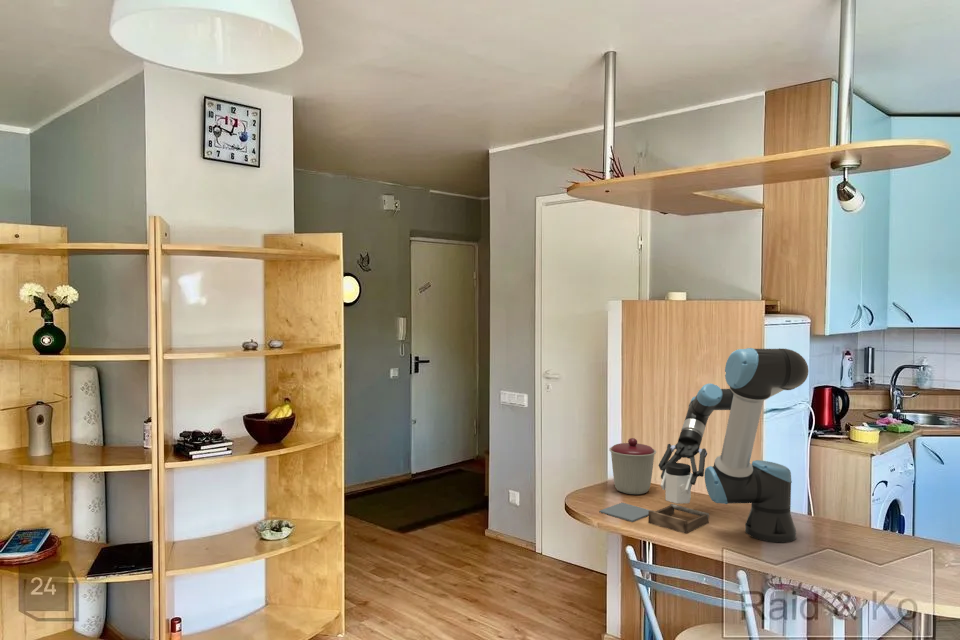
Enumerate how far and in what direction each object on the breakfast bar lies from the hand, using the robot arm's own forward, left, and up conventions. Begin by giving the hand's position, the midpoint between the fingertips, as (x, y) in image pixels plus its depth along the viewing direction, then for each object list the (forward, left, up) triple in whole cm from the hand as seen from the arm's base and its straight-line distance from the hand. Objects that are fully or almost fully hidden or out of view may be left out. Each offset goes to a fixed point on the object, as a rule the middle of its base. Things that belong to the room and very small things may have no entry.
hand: (674, 489), depth 223 cm
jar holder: (0, -3, -12) cm, 12 cm away
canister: (+32, -23, -12) cm, 41 cm away
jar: (+1, -3, -5) cm, 6 cm away
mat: (+18, +1, -12) cm, 22 cm away
